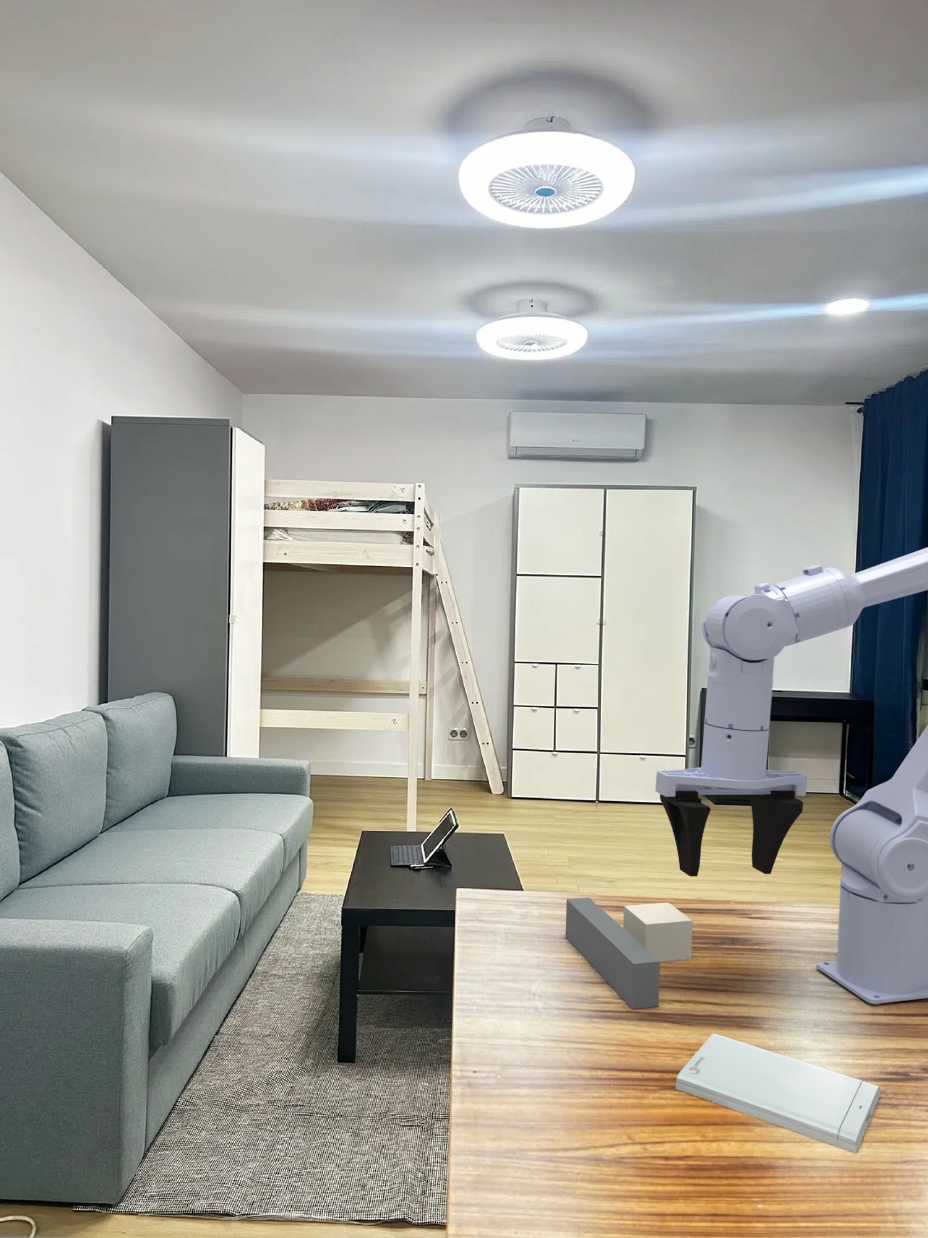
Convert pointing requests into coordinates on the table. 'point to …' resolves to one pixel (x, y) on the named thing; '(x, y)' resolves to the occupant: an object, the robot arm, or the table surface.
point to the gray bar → (613, 953)
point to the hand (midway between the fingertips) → (725, 872)
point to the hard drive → (781, 1091)
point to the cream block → (660, 930)
